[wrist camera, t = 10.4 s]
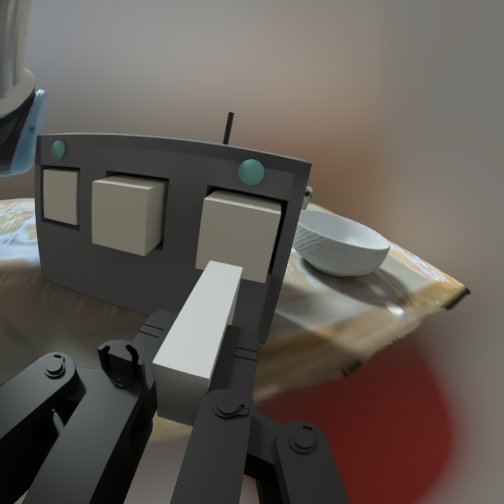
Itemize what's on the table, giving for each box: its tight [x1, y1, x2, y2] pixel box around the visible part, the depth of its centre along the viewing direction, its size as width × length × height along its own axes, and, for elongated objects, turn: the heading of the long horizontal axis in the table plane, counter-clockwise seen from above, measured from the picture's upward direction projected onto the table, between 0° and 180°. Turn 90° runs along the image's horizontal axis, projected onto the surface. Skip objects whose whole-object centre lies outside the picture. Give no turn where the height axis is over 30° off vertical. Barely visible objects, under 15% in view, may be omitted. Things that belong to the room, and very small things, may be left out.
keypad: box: [35, 133, 312, 343], centre depth 24 cm, size 6×26×16 cm, turn 84°
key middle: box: [92, 174, 169, 256], centre depth 20 cm, size 4×5×5 cm
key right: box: [195, 189, 281, 283], centre depth 20 cm, size 4×5×5 cm
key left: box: [43, 166, 80, 225], centre depth 23 cm, size 4×5×5 cm
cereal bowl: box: [292, 210, 390, 277], centre depth 43 cm, size 17×17×7 cm
